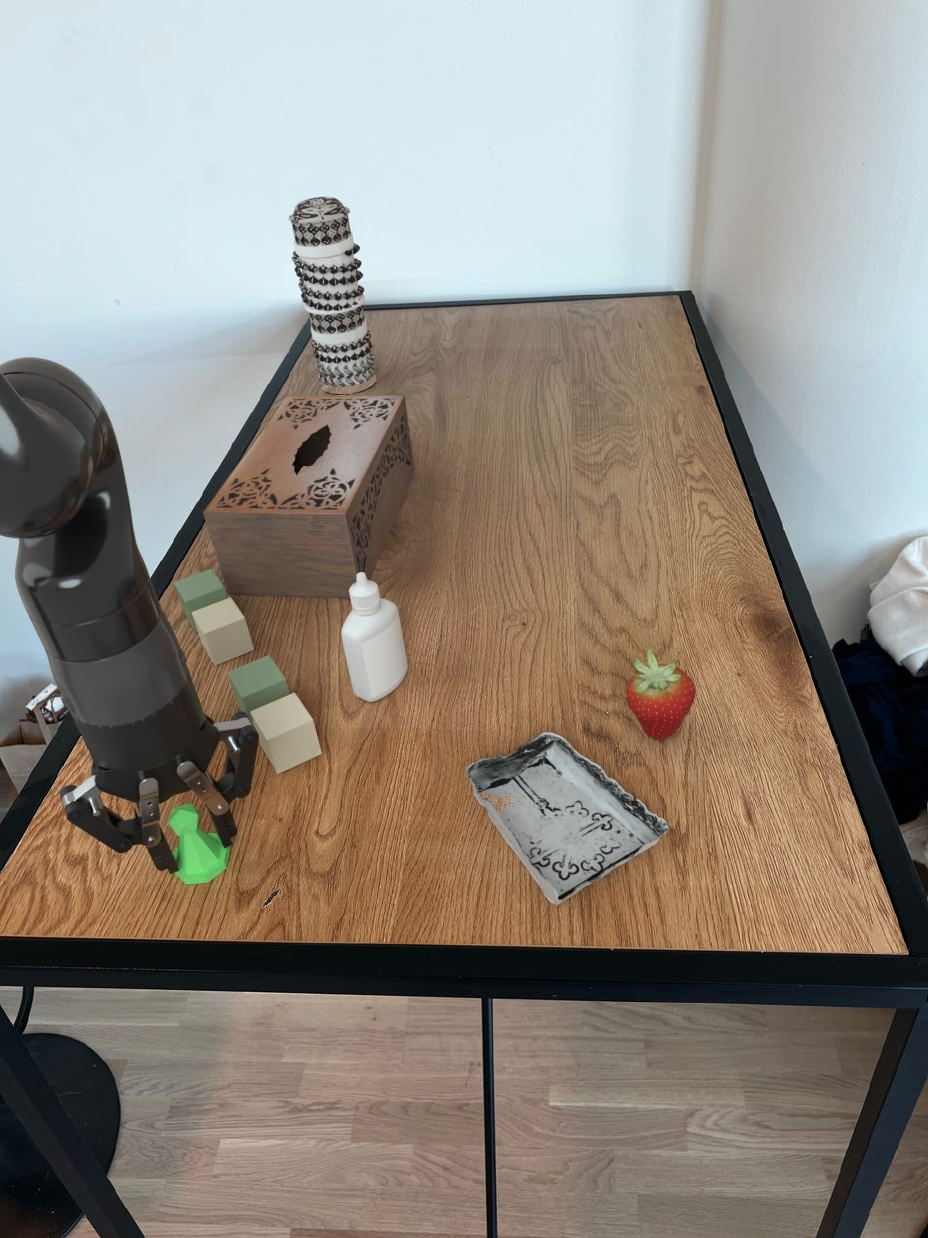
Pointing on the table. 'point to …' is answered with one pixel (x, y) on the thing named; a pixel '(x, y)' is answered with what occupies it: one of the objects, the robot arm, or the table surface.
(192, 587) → the block far
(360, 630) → the eye dropper bottle
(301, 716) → the block near
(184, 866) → the game piece
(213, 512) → the tissue box cover
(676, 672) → the fruit
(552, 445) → the table surface
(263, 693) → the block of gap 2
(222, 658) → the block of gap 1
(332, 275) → the black white cylinder
